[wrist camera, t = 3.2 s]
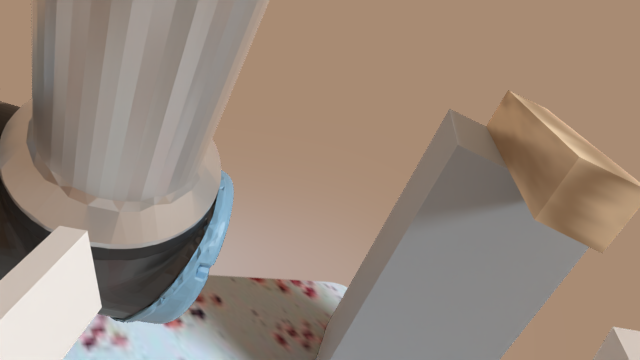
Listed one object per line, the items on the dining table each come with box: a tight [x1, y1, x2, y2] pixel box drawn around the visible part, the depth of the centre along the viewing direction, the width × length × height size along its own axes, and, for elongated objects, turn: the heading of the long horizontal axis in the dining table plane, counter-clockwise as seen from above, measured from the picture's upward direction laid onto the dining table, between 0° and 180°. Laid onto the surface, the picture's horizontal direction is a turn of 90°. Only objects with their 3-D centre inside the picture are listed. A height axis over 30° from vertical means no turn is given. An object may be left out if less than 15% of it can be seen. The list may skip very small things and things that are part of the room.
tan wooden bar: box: [486, 90, 640, 253], centre depth 35 cm, size 4×23×4 cm, turn 167°
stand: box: [316, 109, 589, 360], centre depth 46 cm, size 12×14×30 cm
